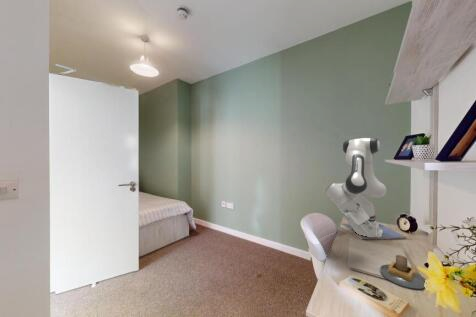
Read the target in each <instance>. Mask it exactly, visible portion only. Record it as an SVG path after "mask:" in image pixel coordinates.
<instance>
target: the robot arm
mask: <svg viewBox="0 0 476 317" xmlns="http://www.w3.org/2000/svg"><path fill="white" fill-rule="evenodd" d="M380 147H381V142H380V141H379V139H378V138H377V137H361V138H354V139H347V140H345V141H344V142H343V143H342V151H343V153H345V163H347V164H348V165H349V166H350V173H349V175H348V176H347V177H346V179H345V182H342V183H337V182H335V183H334V182H333V183H331V184H330V185H328V187H327V188H326V190H325V194H326V195H327V196H328V198H329V199H330V201H331V202H332V203H333V204H334V205H336V206H337V209H338V210H339V211H340V212H341V213H342V214H343V217H344V219H345V221H346V222H347V224H348V225H349V226H350V227H351V229H352V228H353V230H354V231H355V232H356V233H357V234H356V233H355V232H354V231H353V230H352V231H353V232H354V233H355V234H356V235H358V234H359V235H358V236H361V235H363V236H362V237H365V236H367V238H382V236H383V233H384V231H383V229H381V228H380V224H379V223H378V221H376V220H377V219H376V217H377V215H376V213H375V206H374V204H373V203H372V202H371V201H369V200H368V199H366V197H371V198H383V197H385V195H387V187H386V185H385V184H384V183H382V182H381V181H380V180H379V179H378V178H377V177H376V175H375V172H374V164H373V155H375V154H376V153H377V152H379V150H380Z"/></svg>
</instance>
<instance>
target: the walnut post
mask: <svg viewBox="0 0 476 317" xmlns="http://www.w3.org/2000/svg"><path fill="white" fill-rule="evenodd" d="M395 262H396V269H398V270H400V271H403V272H406V273H408V269H407V266H408V258H407V257H406V256H404V255H400V254H396V255H395Z"/></svg>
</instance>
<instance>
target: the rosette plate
mask: <svg viewBox="0 0 476 317" xmlns="http://www.w3.org/2000/svg"><path fill="white" fill-rule="evenodd" d="M407 269H408V273H406V272H403V271H400V270H398V269H396V261H394V260H393V261H392V262H391V263H390V264H387V263H386V264H383V265H381V266H380V268H379V270H380V271H379V272H380V274H381V276H382V277H383V276H384V279H385V280H387V281H389V282H391V283H393V284H395V285H397V286H399V287H402V288H405V289H409V290H414V291H415V290H418V291H420V290H425V289H426V288H425V287H424V283H425V280H426V278H425V277H424V276H422V275H421V274H420V273H418V272H416V268H414V267H412V266H409V265H407Z"/></svg>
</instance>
